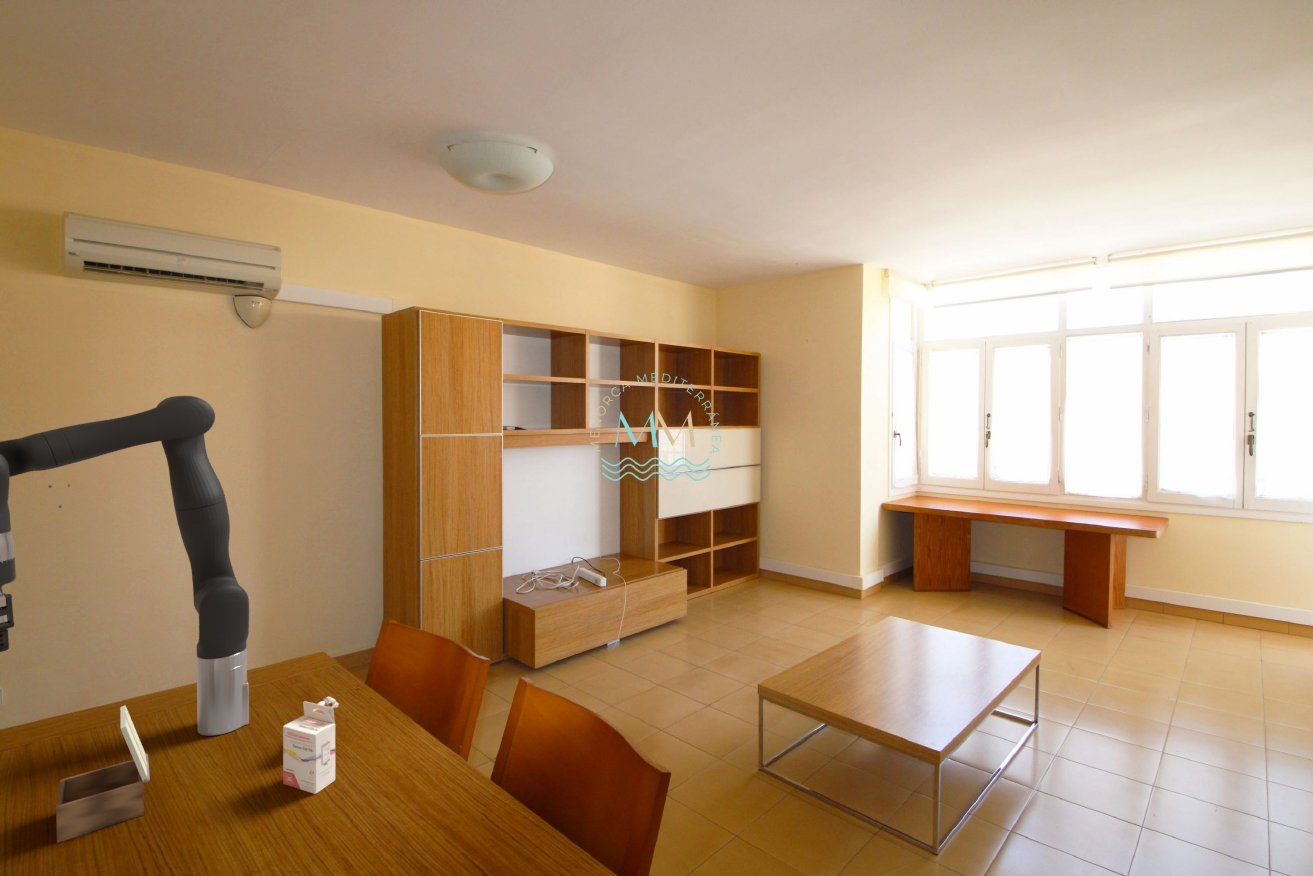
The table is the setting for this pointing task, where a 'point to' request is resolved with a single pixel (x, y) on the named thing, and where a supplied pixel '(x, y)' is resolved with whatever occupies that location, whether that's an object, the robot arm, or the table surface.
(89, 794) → the box
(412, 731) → the table surface
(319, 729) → the ink cartridge box
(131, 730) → the lid
